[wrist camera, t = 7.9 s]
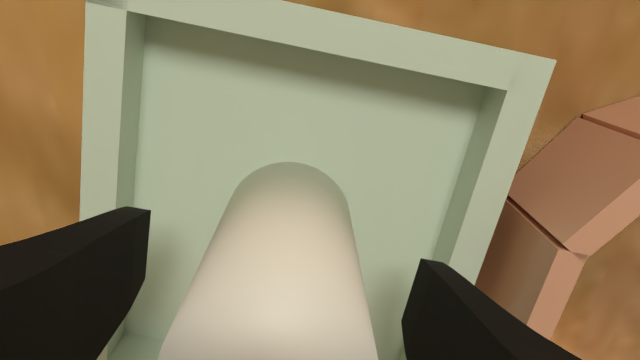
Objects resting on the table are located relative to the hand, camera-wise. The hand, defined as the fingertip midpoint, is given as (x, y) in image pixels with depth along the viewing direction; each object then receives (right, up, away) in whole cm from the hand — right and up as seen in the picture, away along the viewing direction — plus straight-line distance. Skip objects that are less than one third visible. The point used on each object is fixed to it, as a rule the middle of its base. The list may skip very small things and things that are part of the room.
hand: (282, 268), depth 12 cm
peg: (0, +1, +3) cm, 3 cm away
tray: (0, +1, +3) cm, 4 cm away
